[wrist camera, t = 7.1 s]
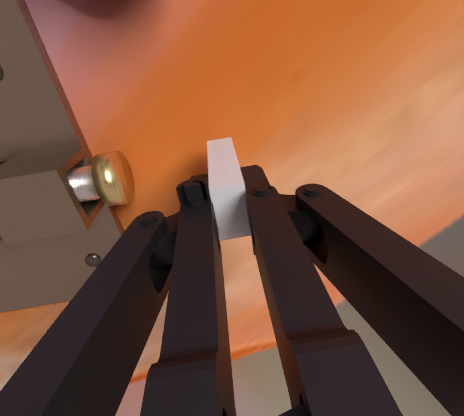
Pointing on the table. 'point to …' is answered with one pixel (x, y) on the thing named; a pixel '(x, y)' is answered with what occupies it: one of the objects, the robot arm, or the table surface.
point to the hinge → (42, 177)
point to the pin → (104, 180)
